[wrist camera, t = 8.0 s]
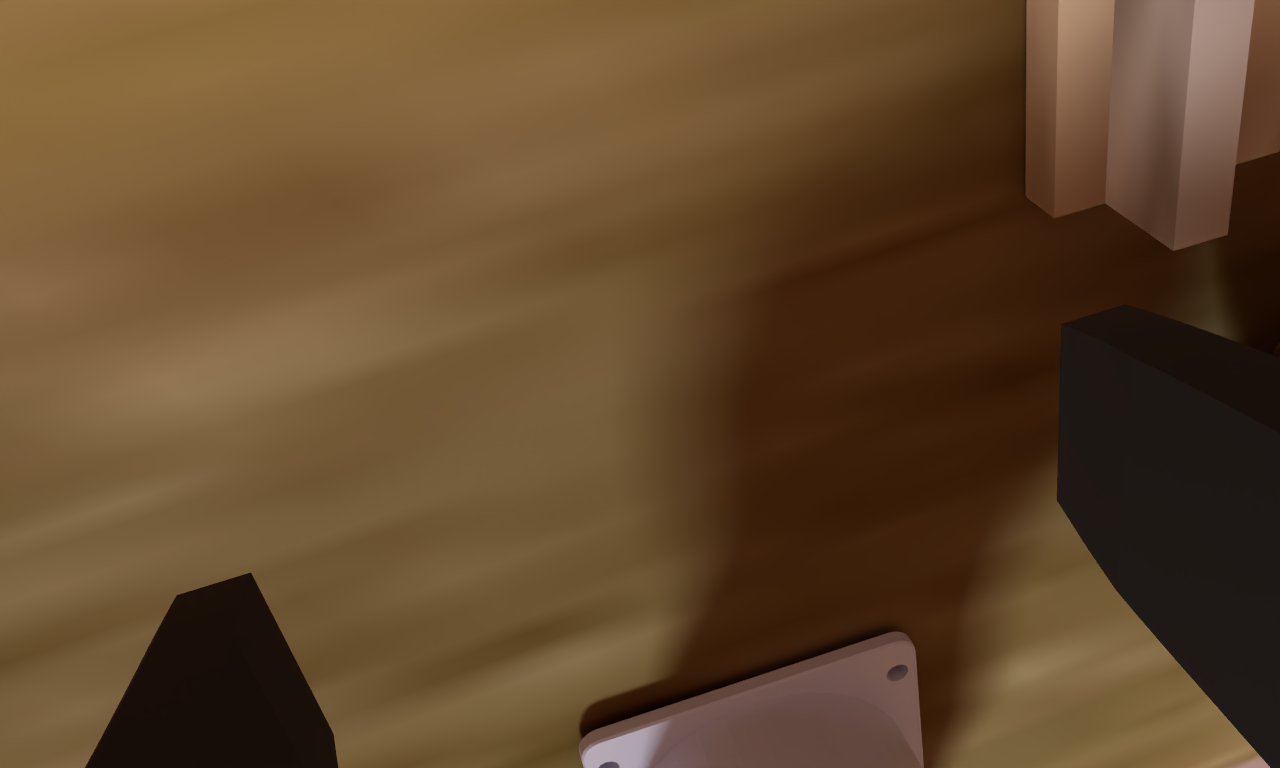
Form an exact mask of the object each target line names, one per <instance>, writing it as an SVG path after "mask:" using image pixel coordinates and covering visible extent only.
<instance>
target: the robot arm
mask: <svg viewBox="0 0 1280 768" xmlns="http://www.w3.org/2000/svg"><path fill="white" fill-rule="evenodd" d="M1057 501H1058V502H1059V504H1060V506H1061V507H1062V509H1063V510H1064V512H1065V514H1066V515H1067V517H1068V518H1069V520H1070V521H1071V523H1072V525H1073V526H1074V528H1075V529H1076V531H1077V532H1078V534H1079V536H1080V537H1081V539H1082V540H1083V542H1084V543H1085V545H1086V547H1087V548H1088V550H1089V551H1090V553H1091V554H1092V556H1093V557H1094V558H1095V560H1096V561H1097V563H1098V564H1099V566H1100V567H1101V569H1102V570H1103V572H1104V573H1105V575H1106V576H1107V577H1108V579H1109V580H1110V582H1111V583H1112V585H1113V586H1114V588H1115V589H1116V591H1117V592H1118V593H1119V594H1120V595H1121V597H1122V598H1123V599H1124V600H1125V601H1126V602H1127V604H1128V605H1129V606H1130V607H1131V608H1132V610H1133V611H1134V612H1135V613H1136V614H1137V615H1138V617H1139V618H1140V619H1141V620H1142V621H1143V622H1144V624H1145V625H1146V626H1147V627H1148V628H1149V629H1150V631H1151V632H1152V633H1153V634H1154V635H1155V636H1156V637H1157V639H1158V640H1159V641H1160V642H1161V643H1162V644H1163V646H1164V647H1165V648H1166V649H1167V650H1168V651H1169V653H1170V654H1171V655H1172V656H1173V657H1174V658H1175V660H1176V661H1177V662H1178V663H1179V664H1180V665H1181V666H1182V667H1183V669H1184V670H1185V671H1186V672H1187V673H1188V674H1189V675H1190V677H1191V678H1192V679H1193V680H1194V681H1195V682H1196V683H1197V685H1198V686H1199V687H1200V688H1201V689H1202V690H1203V691H1204V692H1205V694H1206V695H1207V696H1208V697H1209V698H1210V699H1211V700H1212V702H1213V703H1214V704H1215V705H1216V706H1217V707H1218V708H1219V710H1220V711H1221V712H1222V713H1223V714H1224V715H1225V716H1226V717H1227V719H1228V720H1229V721H1230V722H1231V723H1232V724H1233V725H1234V727H1235V728H1236V729H1237V730H1238V731H1239V732H1240V733H1241V735H1242V736H1243V737H1244V738H1245V739H1246V740H1247V741H1248V743H1249V744H1250V745H1251V746H1252V747H1253V748H1254V749H1255V750H1256V752H1257V753H1258V754H1259V755H1260V756H1261V757H1262V758H1263V760H1264V761H1265V762H1266V763H1267V764H1268V765H1269V766H1270V768H1280V358H1279V357H1276V356H1273V355H1271V354H1268V353H1265V352H1263V351H1260V350H1257V349H1254V348H1252V347H1249V346H1246V345H1243V344H1241V343H1238V342H1235V341H1232V340H1230V339H1227V338H1224V337H1221V336H1219V335H1216V334H1213V333H1210V332H1207V331H1205V330H1202V329H1199V328H1196V327H1193V326H1190V325H1188V324H1185V323H1182V322H1179V321H1176V320H1173V319H1170V318H1167V317H1164V316H1161V315H1158V314H1155V313H1152V312H1149V311H1145V310H1142V309H1138V308H1135V307H1132V306H1128V305H1122V306H1119V307H1116V308H1112V309H1109V310H1106V311H1103V312H1099V313H1096V314H1093V315H1090V316H1086V317H1083V318H1080V319H1077V320H1073V321H1070V322H1067V323H1063V324H1061V362H1060V400H1059V438H1058V476H1057ZM894 666H895V667H894ZM579 752H580V756H581V760H582V763H583V766H584V768H924V762H923V748H922V733H921V719H920V705H919V691H918V677H917V663H916V650H915V647H914V645H913V643H912V641H911V640H910V638H909V637H908V636H907V635H906V634H905V633H903V632H897V631H896V632H890V633H886V634H883V635H880V636H877V637H874V638H871V639H868V640H865V641H862V642H859V643H856V644H853V645H850V646H847V647H843V648H840V649H837V650H834V651H831V652H828V653H825V654H822V655H819V656H816V657H813V658H810V659H807V660H804V661H801V662H798V663H795V664H792V665H789V666H786V667H783V668H780V669H777V670H774V671H771V672H768V673H765V674H762V675H759V676H756V677H753V678H750V679H747V680H744V681H741V682H738V683H735V684H732V685H729V686H726V687H723V688H720V689H716V690H713V691H710V692H707V693H704V694H701V695H698V696H695V697H692V698H689V699H686V700H683V701H680V702H677V703H674V704H671V705H668V706H665V707H662V708H659V709H656V710H653V711H650V712H647V713H644V714H641V715H638V716H635V717H632V718H629V719H626V720H623V721H620V722H617V723H614V724H611V725H608V726H605V727H602V728H599V729H596V730H594V731H592V732H589V733H588V734H587V735H586V736H585V737H584V738H583V739H582V740H581V742H580V744H579ZM606 762H608V763H606ZM604 763H606V764H604ZM85 768H338V763H337V756H336V749H335V742H334V735H333V732H332V730H331V728H330V726H329V724H328V722H327V720H326V718H325V717H324V715H323V713H322V711H321V709H320V707H319V705H318V703H317V701H316V699H315V697H314V695H313V693H312V691H311V689H310V687H309V685H308V683H307V681H306V679H305V677H304V675H303V674H302V672H301V670H300V668H299V666H298V664H297V662H296V660H295V658H294V656H293V654H292V652H291V650H290V648H289V646H288V644H287V642H286V640H285V638H284V636H283V634H282V632H281V630H280V629H279V627H278V625H277V623H276V621H275V619H274V617H273V615H272V613H271V611H270V609H269V607H268V605H267V603H266V601H265V599H264V597H263V595H262V593H261V591H260V589H259V587H258V586H257V584H256V582H255V580H254V578H253V576H252V574H251V573H248V574H245V575H241V576H238V577H235V578H232V579H228V580H225V581H222V582H219V583H215V584H212V585H209V586H206V587H202V588H199V589H196V590H193V591H189V592H186V593H183V594H180V595H177V596H176V598H175V600H174V601H173V603H172V605H171V606H170V608H169V610H168V612H167V614H166V615H165V617H164V619H163V621H162V623H161V625H160V626H159V628H158V630H157V632H156V634H155V636H154V638H153V640H152V642H151V644H150V645H149V647H148V649H147V651H146V653H145V655H144V657H143V659H142V661H141V663H140V665H139V667H138V669H137V671H136V672H135V674H134V676H133V678H132V680H131V682H130V684H129V686H128V688H127V690H126V692H125V694H124V696H123V698H122V699H121V701H120V703H119V705H118V707H117V709H116V711H115V713H114V715H113V717H112V718H111V720H110V722H109V724H108V726H107V728H106V730H105V732H104V734H103V736H102V737H101V739H100V741H99V743H98V745H97V747H96V749H95V750H94V752H93V754H92V756H91V758H90V759H89V761H88V763H87V765H86V767H85Z"/></svg>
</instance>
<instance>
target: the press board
mask: <svg viewBox="0 0 1280 768" xmlns="http://www.w3.org/2000/svg"><path fill="white" fill-rule="evenodd" d="M1277 152H1280V0H1027V10H1026V197H1027V198H1028V199H1029V200H1031V201H1032V202H1033V203H1034V204H1036V205H1037V206H1038V207H1040V208H1041V209H1042V210H1044V211H1045V212H1046V213H1048V214H1049V215H1050V216H1051V217H1053V218H1058V217H1061V216H1064V215H1068V214H1071V213H1074V212H1078V211H1081V210H1085V209H1088V208H1091V207H1095V206H1098V205H1101V204H1107V205H1108V206H1109V207H1111V208H1112V209H1114V210H1115V211H1117V212H1118V213H1119V214H1121V215H1122V216H1124V217H1125V218H1127V219H1128V220H1130V221H1131V222H1132V223H1134V224H1135V225H1137V226H1138V227H1140V228H1141V229H1142V230H1144V231H1145V232H1147V233H1148V234H1150V235H1151V236H1152V237H1154V238H1155V239H1157V240H1158V241H1160V242H1161V243H1162V244H1164V245H1165V246H1167V247H1168V248H1170V249H1171V250H1172V251H1175V250H1179V249H1182V248H1185V247H1189V246H1192V245H1195V244H1198V243H1202V242H1205V241H1208V240H1212V239H1215V238H1218V237H1222V236H1225V235H1228V227H1229V218H1230V210H1231V201H1232V192H1233V184H1234V175H1235V166H1236V165H1237V164H1240V163H1243V162H1247V161H1250V160H1253V159H1257V158H1260V157H1264V156H1267V155H1270V154H1274V153H1277Z"/></svg>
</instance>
